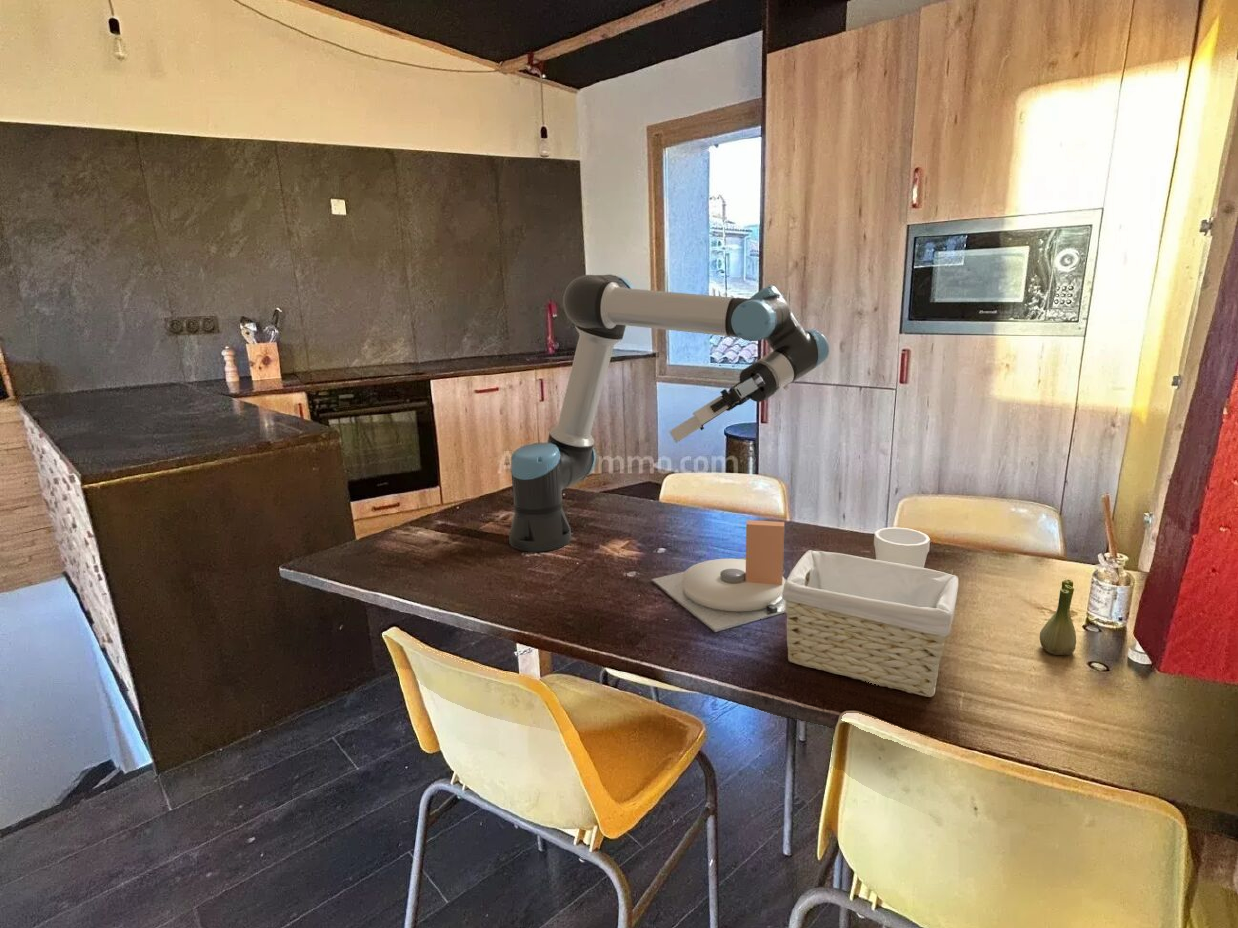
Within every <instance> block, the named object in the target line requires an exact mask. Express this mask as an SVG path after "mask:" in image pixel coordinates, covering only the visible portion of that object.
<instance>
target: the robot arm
mask: <svg viewBox="0 0 1238 928" xmlns="http://www.w3.org/2000/svg"><path fill="white" fill-rule="evenodd" d="M562 306H563V310H564V312H565V314H566V316H567V318H568V319H569V320H570V321H571V323H572V324H575V325H574V326H575V329H576V331H577V332H578V335H579V337H578V339H577V344H576V348H575V352H574V357H573V361H572V364H571V369H570V373H569V377H568V382H567V384H566V385H567V386H566V390H565V393H564V398H563V401H562V406H561V411H560V414H559V418H558V423H557V425H555V426H554V427H552V428H550V430H549V434H548V437H547V442H536V443H535V442H534V443H531V444H526V445H523V446H520V447H519V448H517V449H515V450H514V451H513V452H512V454H511V458H510V474H511V485H512V486H511V487H512V498H513V499H512V500H513V510H514V512H513V513H514V514H513V518H512V521H511V525H510V530H509V532H508V533H509V534H508V537H509V539H508V540H509V545H510V546H511V547H512V548H513V549H515V550H518V551H522V552H528V553H529V552H530V553H531V552H532V553H533V552H535V553H536V552H538V553H539V552H547V551H554V550H556V549H560V548H563V547H564V546H566V545H569V543H570V542H571V541H572V530H571V526H570V525H569V522H568V520H567V517H566V514H565V512H564V508H563V495H562V493H563V490H565V489H567V488H569V487H572V486H573V485H575V484H577V483H580V482H581V481H583V480H585V479H586V478H587V477H588V476H589V475H590V474H591V473H592V471H593V470H594V468H595V466H596V462H597V455H596V454H597V453H596V451H595V449H594V446H595V439H594V438H593V436H592V434H591V433H592V430H593V426H594V421H595V418H596V414H597V412H598V407H599V403H600V400H601V396H602V392H603V387H604V384H605V380H606V377H607V374H608V370H609V365H610V362H611V358H612V354H613V350H614V346H615V345H616V344H617V343H619V342H621V341H623V338H624V334H625V331H626V327H627V326H629V327H638V328H645V329H646V328H648V329H654V330H655V329H657V330H668V331H675V332H685V333H695V334H704V335H713V336H722V337H723V336H724V337H732V338H738V339H739V338H740V339H741V340H744V341H746V342H747V341H748V342H759V341H762V340H765V341H766V342H767V344H768V346H769V347H770V348H771V350H772V351H771V352H769V353H767V354H766V355H764V356H762V357H760V358H759V359H758V360H756V361H755V362H753V363H752V364H750V365H748V366H747V367H746V368H743V369H742V370H741V371H740V373H739V382H737V383H736V384H735V385H733V386H732V387H730V388H729V390H727V389H726V388H724V389H723V390H721V391H720V394H721V395H720V396H718V397H716V398H715V399H712V401H710V402H708V403H707V404H705V405H703V406H702V407H700V408H699V409H697V410H695V411H694V412H693V413H692V415H693V416H692V417H690V418H688V419H687V420H685V421H684V422H682V423H680V424H678V425H677V426H676V427H673V429H671V430H669V431H668V432H669V434H670V435H671V437H672V438H673V440H674V442H675V443H678V442H680V441H682V440H683V439H685V438H686V437H688V436H689V435H691V434H693V433H694V432H696V431H697V430H700V431H703V430H704V429H705V427H704V425H705V424H707V423H710V422H711V421H712V420H714V419H715V418H717V417H718V416H720V415H722V414H723V413H724V412H726V411H727V412H729V411H732V410H733V409H735V408H736V407H737V406H741V405H743V404H745V403H746V402H748V401H749V400H751V401H753V402H754V403H755V402H757V403H762V402H764V401H766V400H767V399H769V398H770V397H772V396H774V395H775V394H776V393H777V392H779V391H780V390H782V389H783V390H789V385H790V384H792V383H793V382H795V381H797V380H798V379H800V378H801V377H803V376H805V375H806V374H808V373H809V372H811V371H813V370H814V369H816V368H817V367H818V366H819V365H821V364H822V363H823V362H825V361H826V359H827V358H828V357H829V354H830V345H829V341H828V339H827V337H826V336H825V335H824V334H823V333H820V331H818V330H816V329H814V328H812V329H808V330H806V329H805V328H804V327H803V325H802V324H801V322H799V319H798V318H797V317H796V315H795V313H794V312H793V310H792V309H791V308H790V306H789V304H788V303H787V301H786V300H785V296H784V295H782V294H781V293H780V291H779V290H778V289H777V287H776V286H775V285H768V286H767V287H764V288H762V289H761V290H759V291H758V292H756V293H755V294H753V295H752V296H751V297H749V298H744V297H733V296H730V297H729V296H721V295H720V296H719V295H709V294H708V295H707V294H696V293H685V292H673V291H660V290H652V289H650V290H648V289H641V288H640V289H637V288H635V287H634V285H633V283H631V282H630V281H629V280H627V279H626V278H623V277H622V276H620V275H619V276H618V275H615V274H585V275H584V274H583V275H581V276H578V277H576V278H575V279H573V280H571V282H570V283H569V284H568V285H567V287H566V289H565V291H564V293H563V299H562Z"/></svg>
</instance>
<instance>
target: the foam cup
mask: <svg viewBox="0 0 1238 928" xmlns="http://www.w3.org/2000/svg"><path fill="white" fill-rule="evenodd" d="M930 544H931V539H930V537H929V535H928V534H926V533H924V532H923V531H922V532H921V531H919V530H917V529H916V530H915V529H912V528H906V527H897V526H896V527H893V526H892V527H883V528H879V529H877V530H876V531H875V532H874V539H873V547H874V550H875V560H880V561H886V562H892V563H899V564H905V565H910V566H916V567H921V568H925V564H926V560H927V556H928V553H929V552H930Z"/></svg>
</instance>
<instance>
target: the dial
mask: <svg viewBox="0 0 1238 928" xmlns="http://www.w3.org/2000/svg"><path fill="white" fill-rule="evenodd" d="M745 524H746V525H745V526H746V529H745V530H746V536H745V557H746V560H743V559H741V558H717V559H709V560H704V561H701V562H698V563H696V564H694V565H691V566H690V567H688V568H687V569H686V570H685V571H683V572H684V574H683V591H684V593H685V594H686V596H687V597H688V598H690V599H691V600H693V601H694V602H696V603H698V604H701V605H703V606H706V607H709V608H713V609H718V610H725V611H752V610H758V609H763V608H766V607H767V606H768V605H771V604H772V605H774V604H776V603H777V602H779V601H780V600H781V599H782V598H783V596H782V595H783V589H784V584H785V579H786V578H785V577H784V576H783V575H784V574H783V573H784V549H785V548H784V547H785V545H784V544H785V543H784V542H785V521H772V520H771V521H769V520H753V519H752V520H751V519H747V520H746V523H745Z"/></svg>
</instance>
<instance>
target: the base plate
mask: <svg viewBox="0 0 1238 928" xmlns="http://www.w3.org/2000/svg"><path fill="white" fill-rule="evenodd" d="M740 559H743V560H746V556H745V557H741V558H740ZM684 572H685V571H682V572H677V573H673V574H668V575H664V576H660V577H655V578H651V582H652V583H653V584H654V585H655V586H656V587H658V588H659V589H661V590H662V591H663V592H664V593H666V594H667V595H668V596H669V597H670V598H671V599H673V600H674V601H675V602H677V603H678V604H679V605H680V606H682V607H683V608H684V609H686V610H687V611H688V612H689V613H690V614H692V615H693V616H694V617H695V618H697V619H698V620H699V621H700V622H702V623H703V624H704V625H706V626H707V627H708V628H710V629H711V630H712V631H713V632H714V633H717V632H721V631H725V630H728V629H731V628H736V627H738V626H742V625H745V624H746V625H747V624H750V623H754V622H757V621H760V619H761V620H764V619H767V618H771V617H775V616H778V615H782V614H786V600H784V599H783V598H782V599H781V600H780V601H779V602H777V603H776V604H774V605H772V604H771V605H768V606H767V607H766V608H763V609H758V610H752V611H725V610H718V609H713V608H709V607H706V606H703V605H701V604H698V603H696V602H694V601H693V600H691V599H690V598H688V597H687V596H686V594H685V593H684V591H683V574H684ZM784 579H785V582H786V580H787V579H786V578H784Z"/></svg>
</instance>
